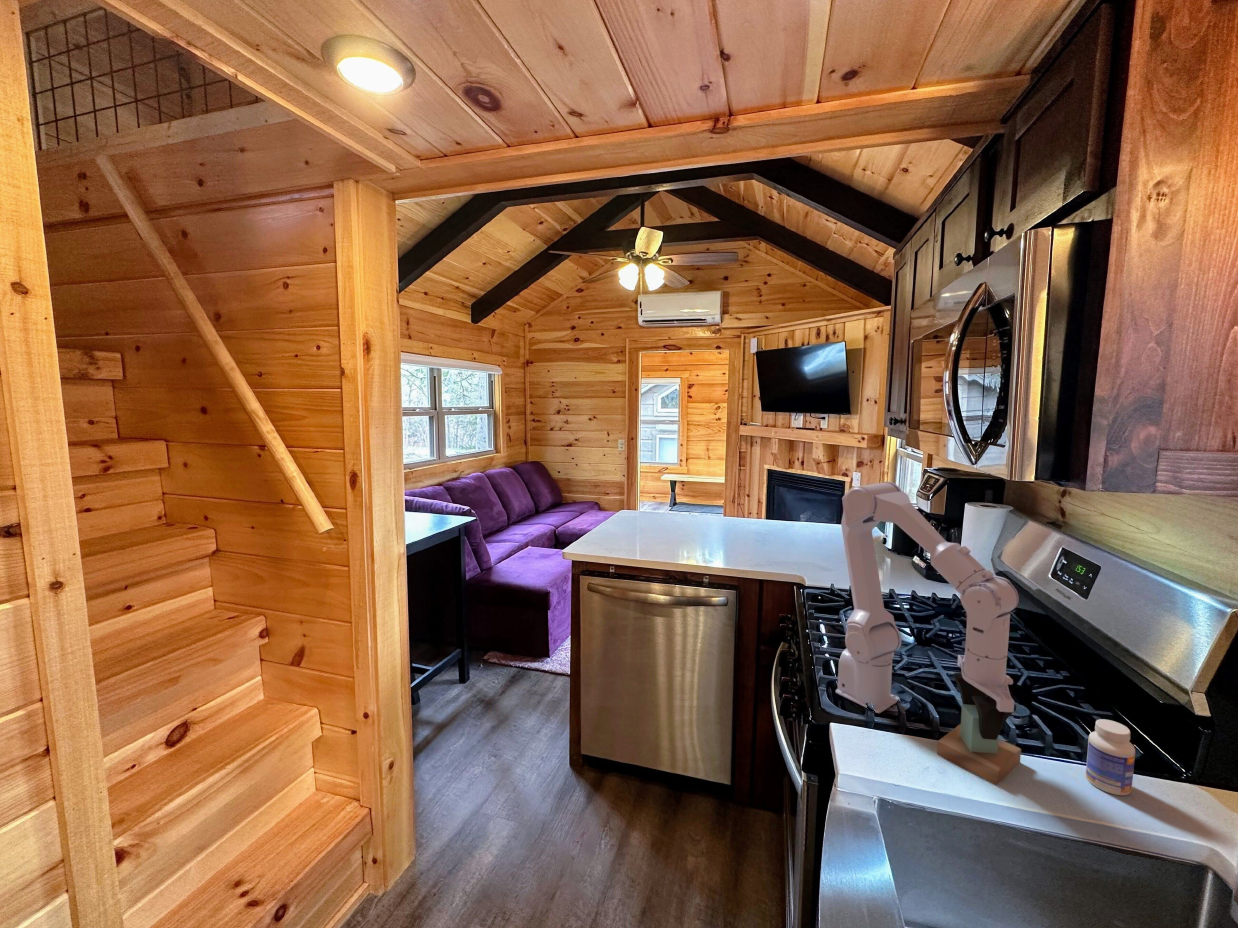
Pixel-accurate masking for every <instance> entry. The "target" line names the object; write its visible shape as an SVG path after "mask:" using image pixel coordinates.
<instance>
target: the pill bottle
mask: <svg viewBox="0 0 1238 928" xmlns="http://www.w3.org/2000/svg"><path fill="white" fill-rule="evenodd" d="M1087 739H1088V741H1087V744H1088V745H1087V754H1086V755H1087V756H1086V766H1085V778H1086V779H1087V781H1088V782H1089V783H1090V784H1091V785H1093V786H1094V787H1095V788H1097V789H1099V790H1101V791H1103V792H1105V793H1109V794H1112V795H1115V796H1127V795H1129V794H1131V792H1132V787H1133V780H1134V779H1133V778H1134V768H1135V760H1136V759H1135V758H1136V748H1135V746H1134V745H1133V744H1132V743H1131V742H1130V740H1131V730H1130V729H1129V728H1128V726H1126V725H1124V724H1122V723H1120V722H1117V721H1114V720H1111V719H1105V718H1103V719H1102V718H1100V719H1097V720H1095V726H1094V731H1092V732H1090V733H1089V735H1088V738H1087Z"/></svg>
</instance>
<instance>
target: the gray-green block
mask: <svg viewBox="0 0 1238 928" xmlns="http://www.w3.org/2000/svg"><path fill="white" fill-rule="evenodd" d="M960 724H961V730H960V737H961V739H962V740H963V741H964V743H965V744H966V746H967V747H968V748H969V750H970V751H971V752H982V753H993V754H998V741H999V739H1000V734H999V735H998V737H997V739H996V740H991V739H983V738H982V737H981V735H980V730H979V717H978V711H977V708H976V705H968V704H961V713H960Z"/></svg>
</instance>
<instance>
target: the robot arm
mask: <svg viewBox="0 0 1238 928" xmlns="http://www.w3.org/2000/svg"><path fill="white" fill-rule="evenodd" d="M841 500H842V508H843V513H842V516H841V517H842V518H841V522H840V525H841V531H842V537H843V545H844V551H845V557H846V563H847V570H848V572H847V573H848V577H849V583H850V590H851V597H852V603H853V611H852V613H851V614H850V616H849V617H848V619H847V620H846V622H845V623H846V634H845V638H844V643H845V647H846V648H845V649H844V650H843V651H842V653H841V655H840V656H839V657H840V658H839V660H838V671H837V672H838V673H837V688H836V690H835V693H836V694H838V695H839V696H841V697H844V698H846V699H848V700H850V701H852V702H854V703H856V704H858V705H860V706H862V707H864V708H866V709H868V708H867V705H866V703H867V702H870V703H872V704H873V706H874V711H875V712H874V711H873V712H874V713H876V714H881V713H882V712H884V711H886V710H887V709H889V708H890V707H891V706H893V705H895V704H896V703H897V701H898V700H899V701H900V697H899V696H897V695H894V694H892V677H893V676H892V674H893V673H892V672H893V659H894V657H895V652H896V651H898V650H899V649H900V648H901V645H902V634H901V633H900V630H899V629H898V627H897V625H896V623H895V618H894V615H893V614H892V613H890V612H889V611H887V610H886V609H885V606H884V600H883V593H882V592H883V591H882V587H881V582H880V574H879V567H878V561H877V556H876V549H875V543H874V536H873V530H874V529H875V528H876V527H877V525H879V523H880V522H883V523H884V522H885V523H889V524H895V525H897V526H898V527H899V528H900V529H901V530H903V532H905V534H907V535H908V536H909V537H910V538H911V539H912V540H914V541H915V542H916V543H917V544H918V545H919V546H920V547H922V548H923V549H924V550H925V551H926V552H927V553H928V554H929V555H930V556H929V557H930V565H931V566H932V567H933V568H934V570H936V571H937V572H938V573H939V574H940V575H941V576H942V578H944V580H946V581H947V582H948V584H949V585H950V586H952V588H953V589H954V590H956V592H957V593H959V596H960V602H961V606H962V607H963V609H964V611H965V612H966V633H965V646H964V647H965V648H964V655H963V654H957V666H958V667H959V668H960V669H961V672H955V673H952V677H953V679H954V681H955V682H956V684H957V688H958V689H959V694H960V698H961V703H962V704H968V705H976V708H977V711H978V717H979V730H980V735H981V737H982V738H983V739H991V740H996V739H997V737H998V735H999V736H1000V732H1001V730H1002V729H1003V726H1004V724H1005V723H1006V721H1007V719H1009V717H1010V716H1011V715H1012V714H1013V713H1015V712H1016V711H1017V705H1016V704H1015V700H1014V699H1013V698H1012V696H1011V693H1010V689H1009V685H1013V684H1014V679H1012V678H1011V677H1010V676H1009V675H1007V662H1008V661H1007V660H1008V653H1009V652H1008V649H1009V638H1010V635H1009V634H1010V622H1011V621H1010V619H1011V613H1010V612H1012V611H1013V610H1015V609H1016V608H1017V606H1018V604H1019V602H1020V601H1019V600H1020V598H1019V597H1020V596H1019V593H1018V590H1017V588H1015V586H1014V585H1013V584H1012V582H1011V581H1010V580H1009V579H1007V578H1005V577H1002V576H997V575H995V574H994V573H993V572H992V571H991V570H988V569H986V568H985V567H984V566H983V565H982V564H981V563H980V561H978V560H976V558H975V557H974V556H972V555H971V554H970V553H971V550H970V549H969V547H967V546H966V545H964V546H961V544H960V543H958V542H949V541H947V540H946V539H945V538H943V536H942V535H941V534H940V533H939V531H938V530H936V528H935V527H934V526H933V525H932V524H931V523H930V522H929V521H928V520H927V519H926V518H925V517H924V516H923V515H922V514H921V512H920V511H919V510H917V508H916V507H915V506H914V505H913V504H912V503H911V500H910V497H909V495H908V493H906V492H904V491H903V490H901V488H900V486H898V485H897V484H896V483H894V482H893V481H883V482H878V483H872V484H865V485H855V486H852V487H851V488H850V489H849V490H848V491H847V492H846V493H845V494H844V495H843V496H842V497H841ZM899 701H898V702H899ZM962 704H961V705H962Z"/></svg>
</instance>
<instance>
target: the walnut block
mask: <svg viewBox="0 0 1238 928" xmlns="http://www.w3.org/2000/svg"><path fill="white" fill-rule="evenodd" d="M960 730H961V723H959V724H958V725H957V726H956V727H954V728H953V729H952V730H950V731H949V732H948V733H947V734H945V735H944V736H943V737H941V738H940V739H939V740H938V741H937V749H936V750H937V751H936V755H938V756H939V757H941V758H943V759H945V760H946V761H949V762H951V763H952V764H955V765H957V766H958V767H960V768H962V769H965V770H966V771H969V772H971V773H972V774H974V775H977V776H978V777H980V778H982V779H984V780H986V781H988V782H990V783H992V784H993V785H996V786H998V785H999V784H1000V783H1001V782H1002V781H1003V780H1004V779H1005V778H1006V777H1007V776H1008V775H1009V774H1010V773H1011V772H1012V771H1013V770H1014V769H1015V768H1016V767H1017V766H1018V765H1019V764H1020V763H1021V757H1022V756H1021V755H1022V748H1020V747H1018V746H1016V745H1014V744H1011V743H1009V742H1008V741H1005V740H1002V739H1000V738H999V741H998V754H993V753H982V752H971V751H970V750H969V748H968V747H967V746H966V744H965V743H964V741H963V740H962V739H961V737H960Z"/></svg>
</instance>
